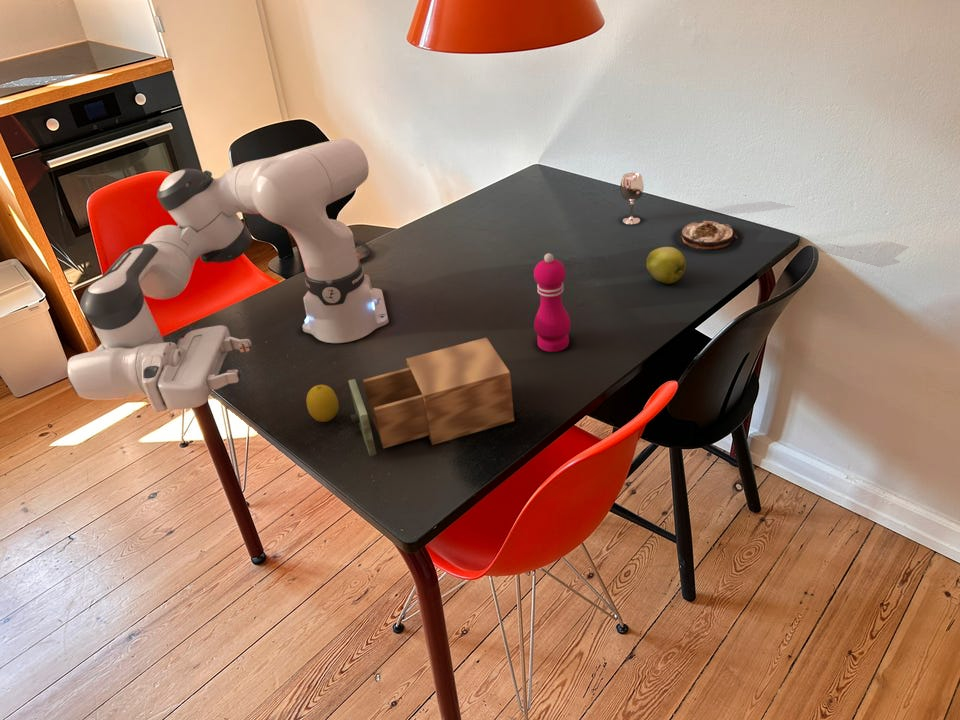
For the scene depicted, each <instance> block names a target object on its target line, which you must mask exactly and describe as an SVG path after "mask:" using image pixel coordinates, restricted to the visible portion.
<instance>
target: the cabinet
mask: <svg viewBox="0 0 960 720" xmlns="http://www.w3.org/2000/svg"><path fill="white" fill-rule="evenodd" d="M405 359H406V360H405V361H406V365H407V367H406V368H410V370H411V372H412V374H413V376H414V379H415V381H416V383H417V385H418V387H419V389H420V391H421V393H422V395H423V398H424V404H425V410H426V416H427V422H428V427H429V433H430V435H428V436H427V437H428V439H429V441H430V444H431V445H432V446H434V445H437V444H440V443H444V442H448V441H451V440H454V439H457V438H461V437H464V436H469V435H471V434H474V433H478V432H483V431H485V430H489V429H492V428H495V427H499V426H503V425H505V424H509V423H512V422H515V412H514V402H513V391H512V390H513V389H512V379H511V372H510V370H509V369H508V367H507V365H506V364H505V363H504V361H503V360H502V358H501V357H500V355H499V354H498V352H497V351H496V350H495V348H494V346H493V345H492V344H491V342H490V340H489V339H488V337H483V338H479V339H475V340H472V341H471V340H470V341H468V342H464V343H460V344H456V345H453V346H449V347H445V348H440V349H437V350H434V351H430V352H426V353H422V354H417V355H415V356H411V357H406V358H405Z"/></svg>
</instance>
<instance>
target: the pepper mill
mask: <svg viewBox="0 0 960 720" xmlns="http://www.w3.org/2000/svg"><path fill="white" fill-rule="evenodd" d="M566 273H567V272H566V268H565V265H564V264H563V263H562V261H559V260H558V259H555V258H554V254H552V253H550V252H548V253H545V254H544V257H543V260H541V261H539V262H538V263H537V264H536V265H535V267H534V270H533V278H534V281H535V282H536V283H537V284H536V286H537V287H536V288H537V293H538V295H539V297H540V304H539V307H538V310H537V313H536V315H535V317H534V321H533V329H534V332H535V333H536V335H537V338H536V341H537V346H538V348H539V349H540V350H542V351H544V352H548V353H557V352H561V351H563V350H565V349H567V347H568V346H569V344H570V336H569V332H570V331H571V327H572V326H571V325H572V324H571V319H570V318H571V317H570V315H569V314H568V312H567V310H566V309H565V307H564V305H563V302H562V293H563V292H564V289H565V288H564V281H565V279H566Z"/></svg>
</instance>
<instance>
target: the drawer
mask: <svg viewBox="0 0 960 720" xmlns="http://www.w3.org/2000/svg"><path fill="white" fill-rule="evenodd" d="M362 381H363V385H364V389H365V394H366V398H367V402H368V407H369V411H370V417H371V419H372V422H373V425H374V427H375V430H376V433H377V435H378V439H379V442H380V445H381V446H382V449H387V448H390V447H393V446H397V445H401V444H404V443H407V442H411V441H414V440H418V439H422V438H425V437H428V435H430V433H429V427H428V422H427V416H426V410H425V404H424V398H423V395H422V393H421V391H420V389H419V387H418V385H417V383H416V381H415V379H414V376H413V374H412V372H411V370H410V368H408V367H405V368H402V369H397V370H394V371H390V372H387V373H384V374H380V375H379V374H378V375H375V376H372V377H367V378H364V379H363V380H362ZM347 382H348V386H349V390H350V394H351V398H352V404H353V407H354V411H355V414H351V415H350V419H351V422H352V424H353V425H356V424H358V425H359V426H358V427H359V429H360V432H361V434H362V438H363V441H364V443H365V446H366V449H367V452H368V455H369V457H373V456H376V455H377V449H376V445H375V441H374V437H373V432H372V428H371V424H370V419H369V414H368V412H367V409H366V405H365V403H364V400H363V398H362V397H363V396H362V395H361V393H360V392H361V391H360V389H359V386H358V383H357V380H356V378H352V379H349V380H348V381H347Z"/></svg>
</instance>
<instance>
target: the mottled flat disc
mask: <svg viewBox="0 0 960 720" xmlns="http://www.w3.org/2000/svg"><path fill="white" fill-rule="evenodd" d="M736 234H737V232H735V230H734V227H732V226H731V225H730V224H728V223H726V224H724V223H722V224H721V222H720V223H719V222H717V221H713V220H705V219H704V220H702V221H692V222H690V223H688V224H686V225H685V226H683V228H682V230H681V232H680V238H681V239H682V243H684V244H686V245H687V246H689V247H691V248H693V249H696V250H700V251H716V250H722V249H725V248H727V246H730V245H731V244H732V241H733V240H734V238H736V239H738V236H737V235H736ZM733 244H735V241H733Z"/></svg>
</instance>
